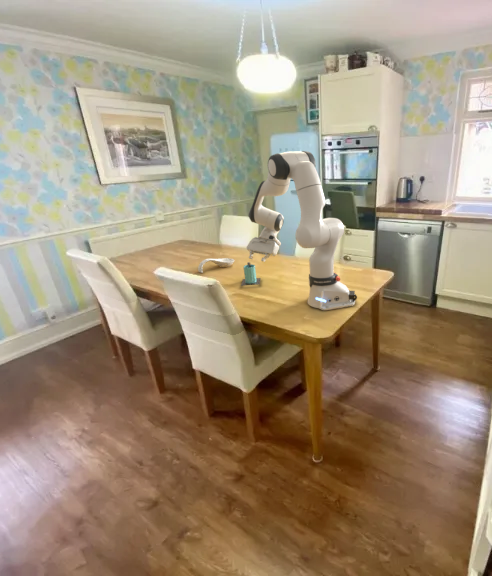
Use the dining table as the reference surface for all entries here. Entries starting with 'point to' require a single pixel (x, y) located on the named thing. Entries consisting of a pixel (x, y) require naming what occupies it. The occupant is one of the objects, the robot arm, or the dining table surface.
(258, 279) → the stand
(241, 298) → the dining table surface
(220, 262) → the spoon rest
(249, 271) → the teal hollow cylinder
